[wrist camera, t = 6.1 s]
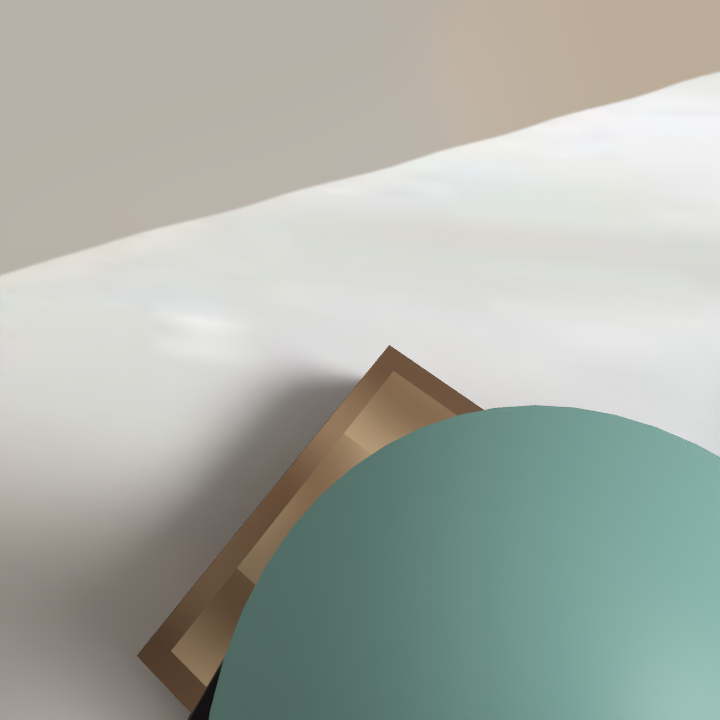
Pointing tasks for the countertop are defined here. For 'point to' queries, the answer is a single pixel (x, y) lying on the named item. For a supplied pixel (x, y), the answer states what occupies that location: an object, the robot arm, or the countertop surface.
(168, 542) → the countertop surface
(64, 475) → the countertop surface
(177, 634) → the brown wooden box
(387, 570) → the dowel
